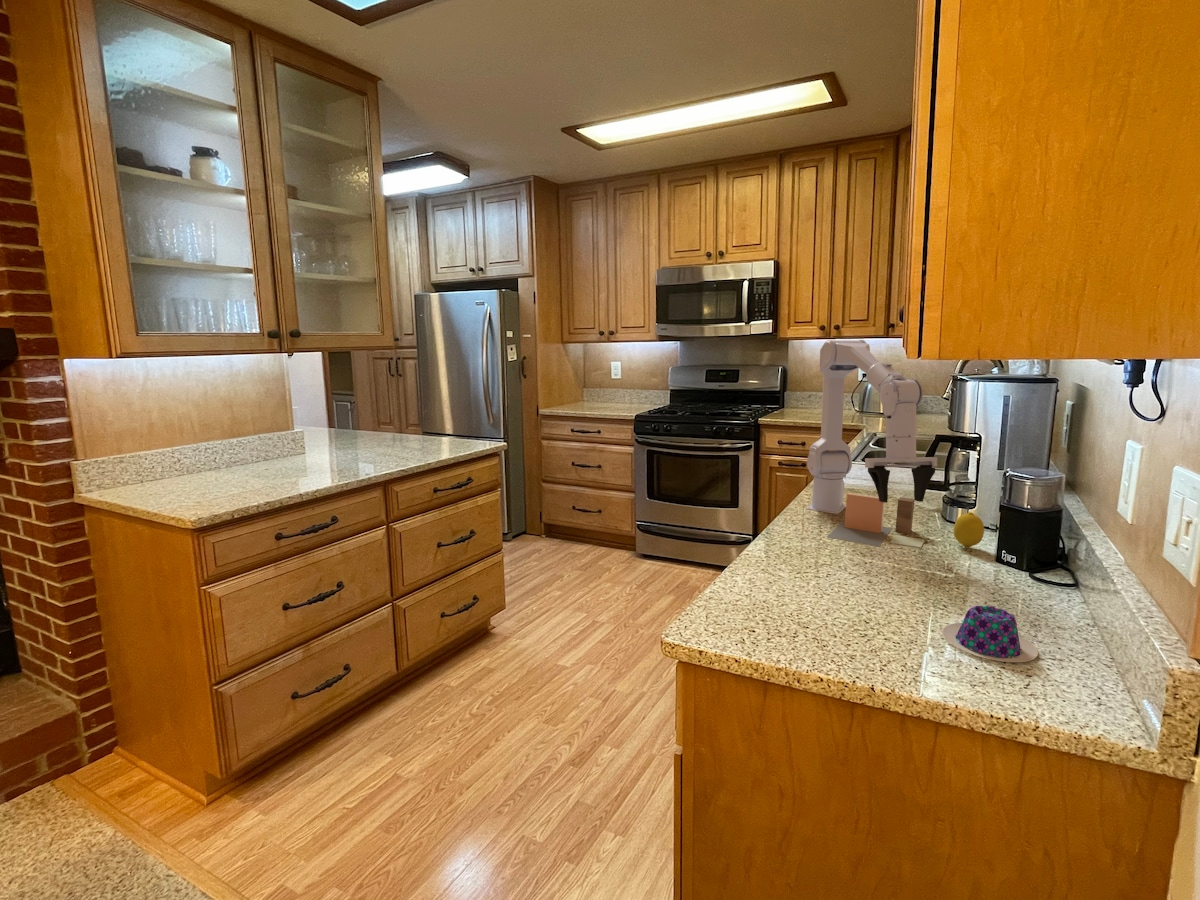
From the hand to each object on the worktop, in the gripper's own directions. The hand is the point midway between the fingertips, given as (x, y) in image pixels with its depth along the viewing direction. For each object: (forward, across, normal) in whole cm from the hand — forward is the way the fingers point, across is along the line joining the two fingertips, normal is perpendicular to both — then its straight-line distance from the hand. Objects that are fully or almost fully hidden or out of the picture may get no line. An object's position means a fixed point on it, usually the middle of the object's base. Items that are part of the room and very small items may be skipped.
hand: (901, 501), depth 130 cm
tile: (+8, -2, +14) cm, 16 cm away
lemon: (+11, +15, +2) cm, 19 cm away
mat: (+9, -4, +11) cm, 15 cm away
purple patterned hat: (+17, -8, -39) cm, 44 cm away
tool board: (+10, +4, +5) cm, 12 cm away
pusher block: (+9, +7, +12) cm, 17 cm away
